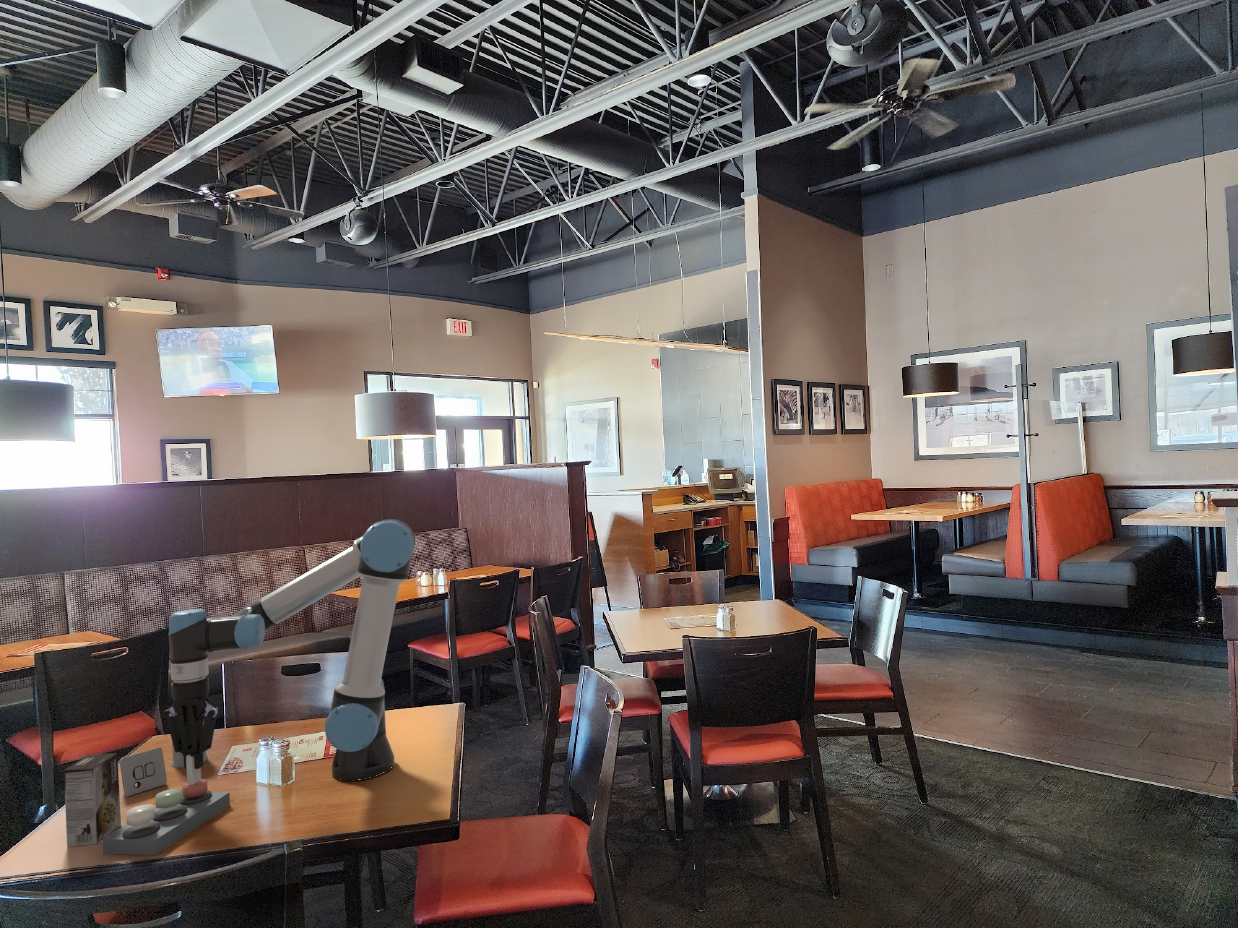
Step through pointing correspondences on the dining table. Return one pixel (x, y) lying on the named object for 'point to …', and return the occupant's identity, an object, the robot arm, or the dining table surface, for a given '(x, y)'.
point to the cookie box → (92, 799)
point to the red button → (195, 789)
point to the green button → (168, 798)
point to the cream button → (140, 815)
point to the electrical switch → (143, 771)
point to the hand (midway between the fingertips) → (194, 782)
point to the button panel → (166, 825)
